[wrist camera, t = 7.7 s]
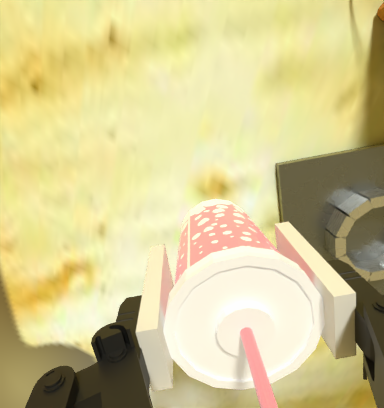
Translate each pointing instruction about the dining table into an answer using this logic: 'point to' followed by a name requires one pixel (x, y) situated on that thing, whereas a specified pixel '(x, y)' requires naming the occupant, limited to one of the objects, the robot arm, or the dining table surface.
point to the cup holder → (339, 207)
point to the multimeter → (381, 12)
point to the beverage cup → (238, 304)
